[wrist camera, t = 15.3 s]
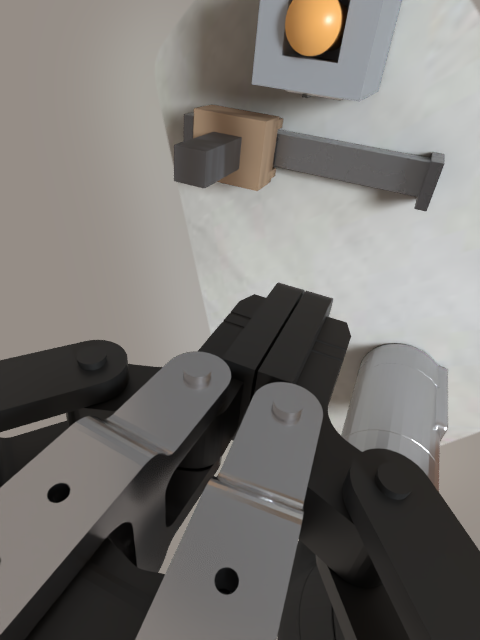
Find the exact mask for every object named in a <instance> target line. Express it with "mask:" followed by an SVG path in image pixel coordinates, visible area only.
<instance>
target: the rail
mask: <svg viewBox="0 0 480 640" xmlns="http://www.w3.org/2000/svg"><path fill="white" fill-rule="evenodd" d="M193 128H194V112H192V113H188V114H184V141H187V140H190V139H193ZM273 166H276V167H281V168H285V169H290V170H295V171H299V172H304V173H309V174H313V175H318V176H323V177H327V178H332V179H337V180H341V181H346V182H351V183H355V184H360V185H365V186H369V187H374V188H379V189H383V190H388V191H393V192H397V193H402V194H407V195H411V196H416V197H417V199H416V204H415V208H414V209H418V210H422V211H427V208H428V206H429V203H430V200H431V198H432V195H433V192H434V190H435V187H436V184H437V182H438V179H439V176H440V174H441V171H442V168H443V166H444V154H440V153H435V152H433V153H432V156H431V158H428V157H423V156H417V155H412V154H407V153H401V152H396V151H391V150H385V149H380V148H375V147H369V146H364V145H359V144H353V143H348V142H343V141H338V140H332V139H327V138H322V137H316V136H311V135H306V134H300V133H295V132H290V131H284V130H279V129H278V131H277V138H276V145H275V152H274V160H273Z"/></svg>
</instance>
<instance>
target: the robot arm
mask: <svg viewBox="0 0 480 640" xmlns="http://www.w3.org/2000/svg"><path fill="white" fill-rule="evenodd" d="M332 302H333V298H329V297H326V296H322V295H319V294H316V293H312V292H309V291H306V292H305V291H304V290H302V289H298V288H295V287H292V286H288V285H285V284H281V283H277V284H276V286H275V287H274V288H273V290H272V291H271V292H270V294H269V295H268V296H267V298H265V297H261V296H258V295H255V294H254V295H252V296H250V297H248V298H245V299H243V300H241V301H239V303H238V304H237V305H236V306H235V307H234V309H233V310H232V311H231V313H230V314H229V315H228V316H227V317H226V318H225V319H224V322H222V323H221V324H220V325H219V327H218V328H217V329H216V330H215V331H214V333H213V334H212V335H211V336H210V337H209V338H208V340H207V341H206V342H205V343H204V345H203V346H202V347H201V348H200V349H199V350H198V352H187V353H183V354H181V355H178V356H176V357H174V358H173V359H171V360H170V361H169V362H168V363H167V364H166V365H165V366H164V367H150V366H141V365H132V364H128V360H127V354H126V352H125V351H124V349H123V348H122V347H121V346H119V345H118V344H115V343H113V342H110V341H105V340H90V341H84V342H80V343H76V344H71V345H67V346H62V347H58V348H53V349H49V350H44V351H40V352H36V353H31V354H27V355H22V356H18V357H13V358H9V359H4V360H1V361H0V432H3V431H6V430H10V429H13V428H16V427H20V426H23V425H26V424H30V423H33V422H37V421H40V420H44V419H47V418H50V417H53V416H57V415H60V414H64V413H66V416H67V421H65V422H61V423H58V424H54V425H51V426H48V427H44V428H41V429H38V430H34V431H31V432H28V433H24V434H21V435H18V436H14V437H11V438H0V640H276V639H277V636H278V640H480V551H479V550H478V548H477V547H476V545H475V544H474V542H473V541H472V540H471V538H470V537H469V535H468V534H467V532H466V531H465V529H464V528H463V526H462V525H461V524H460V522H459V521H458V520H457V518H456V516H455V515H454V514H453V512H452V511H451V509H450V508H449V507H448V505H447V503H446V502H445V501H444V499H443V498H442V496H441V495H440V494H439V457H440V456H439V454H440V441H441V439H442V438H443V436H444V434H445V433H446V431H447V428H448V370H447V369H446V368H443V367H440V366H438V365H437V364H436V362H435V361H434V360H433V359H432V358H431V357H430V356H429V355H427V354H426V353H425V352H423V351H421V350H419V349H417V348H415V347H412V346H409V345H403V344H388V345H383V346H380V347H377V348H375V349H373V350H372V351H370V352H369V353H368V354H367V355H366V356H365V357H364V359H363V361H362V362H361V366H360V369H359V371H358V375H357V380H356V383H355V387H354V391H353V394H352V398H351V401H350V405H349V409H348V412H347V416H346V420H345V423H344V427H343V430H342V434H341V435H340V434H339V433H338V432H337V431H336V430H335V428H334V427H333V425H332V423H331V421H330V419H329V416H328V405H329V402H330V399H331V396H332V393H333V390H334V387H335V384H336V381H337V378H338V375H339V372H340V369H341V366H342V362H343V359H344V356H345V353H346V350H347V347H348V344H349V341H350V338H351V335H350V332H349V328H348V325H347V323H346V322H343V321H340V320H336V319H333V318H330V317H329V314H330V310H331V307H332ZM231 440H234V441H233V443H232V446H231V448H230V450H229V453H228V455H227V457H226V459H225V461H224V464H223V466H222V468H221V470H220V472H219V474H218V476H217V477H215V476H214V474H215V473H216V471H217V470H218V468H219V466H220V464H221V459H222V455H223V453H224V452H225V450H226V448H227V446H228V444H229V443H230V441H231ZM201 494H202V495H201ZM200 496H201V498H200V500H199V502H198V504H197V506H196V509H195V511H194V513H193V515H192V517H191V519H190V521H189V524H188V526H187V528H186V530H185V533H184V534H183V537H182V539H181V541H180V543H179V545H178V548H177V550H176V552H175V554H174V556H173V558H172V561H171V563H170V565H169V567H168V569H167V572H166V574H161V573H158V572H159V570H160V568H161V566H162V564H163V561H164V559H165V556H166V553H167V550H168V547H169V545H170V543H171V541H172V538H173V537H174V535H175V533H176V532H177V530H178V529H179V527H180V526H181V524H182V523H183V521H184V519H185V518H186V517H187V515H188V514H189V512H190V511H191V509H192V508H193V506H194V505H195V503H196V502H197V500H198V499H199V497H200ZM298 539H299V541H298ZM297 543H298V544H297Z"/></svg>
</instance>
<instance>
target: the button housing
mask: <svg viewBox="0 0 480 640" xmlns="http://www.w3.org/2000/svg"><path fill="white" fill-rule="evenodd" d="M292 1H293V0H260V5H259V15H258V25H257V35H256V45H255V55H254V66H253V76H252V84H253V85H259V86H266V87H272V88H278V89H285V90H286V92H292V93H299V94H302V97H305V98H308V97H311V96H317V97H323V98H330V99H336V100H342V99H347V100H354V101H361V100H363V99H365V98H367V97H368V96H370V95H372V94H374V93H376V92H378V90H379V86H380V83H381V79H382V75H383V71H384V67H385V63H386V60H387V56H388V52H389V48H390V44H391V40H392V36H393V33H394V29H395V25H396V21H397V17H398V13H399V10H400V6H401V2H402V0H338V1H339V2H340V3H342V4H344V5H345V6H346V7H347V9H348V15H347V20H346V24H345V29H344V34H343V39H342V44H341V46H340V47H339V48H337V49H335V50H332V51H326V52H324V53H322V54H320V55H316V56H305V55H302V54H299V53H298V52H296V51H295V50H294V49H293V48H292V47H291V45H290V43H289V41H288V39H287V36H286V31H285V19H286V14H287V11H288V8H289V6H290V4H291V2H292Z"/></svg>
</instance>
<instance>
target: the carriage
mask: <svg viewBox="0 0 480 640" xmlns="http://www.w3.org/2000/svg"><path fill="white" fill-rule="evenodd" d="M282 124H283V118H279V117H278V116H273V115H267V114H262V113H256V112H251V111H245V110H239V109H234V108H228V107H223V106H217V105H208V106H203V107H198V108H194V128H193V139H190V140H187V141H184V142H181V143H178V144H175V145H174V181H176V182H180V183H184V184H189V185H193V186H197V187H201V188H206V187H208V186H210V185H211V184H213V183H215V182H221V183H225V184H229V185H234V186H238V187H242V188H246V189H251V190H255V191H258V190H260V189H261V188H263V187H264V186H265V185H267V184H268V183H269V182H270V181H271V178H273V177H274V176H275V172H276V168H274V167H273V160H274V152H275V145H276V138H277V131H278V129H280V128H282Z"/></svg>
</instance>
